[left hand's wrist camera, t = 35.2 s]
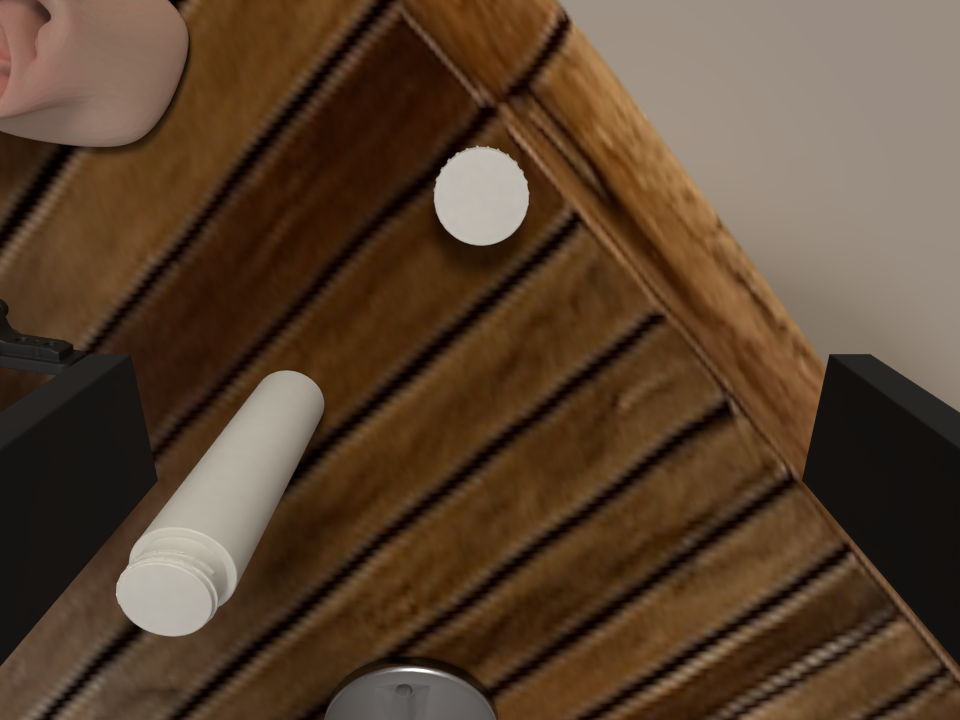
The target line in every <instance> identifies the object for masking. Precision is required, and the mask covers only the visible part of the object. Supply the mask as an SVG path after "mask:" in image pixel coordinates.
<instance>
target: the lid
mask: <svg viewBox="0 0 960 720" xmlns="http://www.w3.org/2000/svg"><path fill="white" fill-rule="evenodd" d="M447 162H448V163H447V164H446V165H445V167H442V169H441V171H442V172H441V173H440V175H439V177H437V179H436V181H437V183H436V186H435V189H434V192H435V193H434V203H435V208H436V213H437V215H438V217H439V219H440V222H441V223H442V225H443V226H444V227H445V229H446V230H447V231H448V232H449V233H450V234H451V235H453V236H454V237H455V238H457V239H459V240H460V241H463V242H465V243H468V244H472V245H482V246H483V245H491V244H495V243H498V242H500V241H502V240H504V239H506V238H507V237H509V236H510V235H511V234H512V233H514V232H515V231H516V229H517V228H518V227H519V226H520V225H521V223H522V221H523V219H524V217H525V216H526V211H527V207H528V205H529V203H528V198H529V196H528V195H529V191H528V188H527V184H528V183H527V181H526V179H525V178H524V176H523V171H522V169H521V170H520V169H519V167H518V166H517V162H516V161H513V160H512V159H511V158H510V157H509V155H508V154H504V153H503V152H501V151H500V150H499V149H497V150H496V149H493V148H489V146H487V147H478V146H476V147H475V148H470V149H468V148H466V150H464V151H462V152H460V153H458V152H457V153H456V155H455V156H454V157H453V158H452V159H451V160H450V159H449V160H448V161H447Z"/></svg>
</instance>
